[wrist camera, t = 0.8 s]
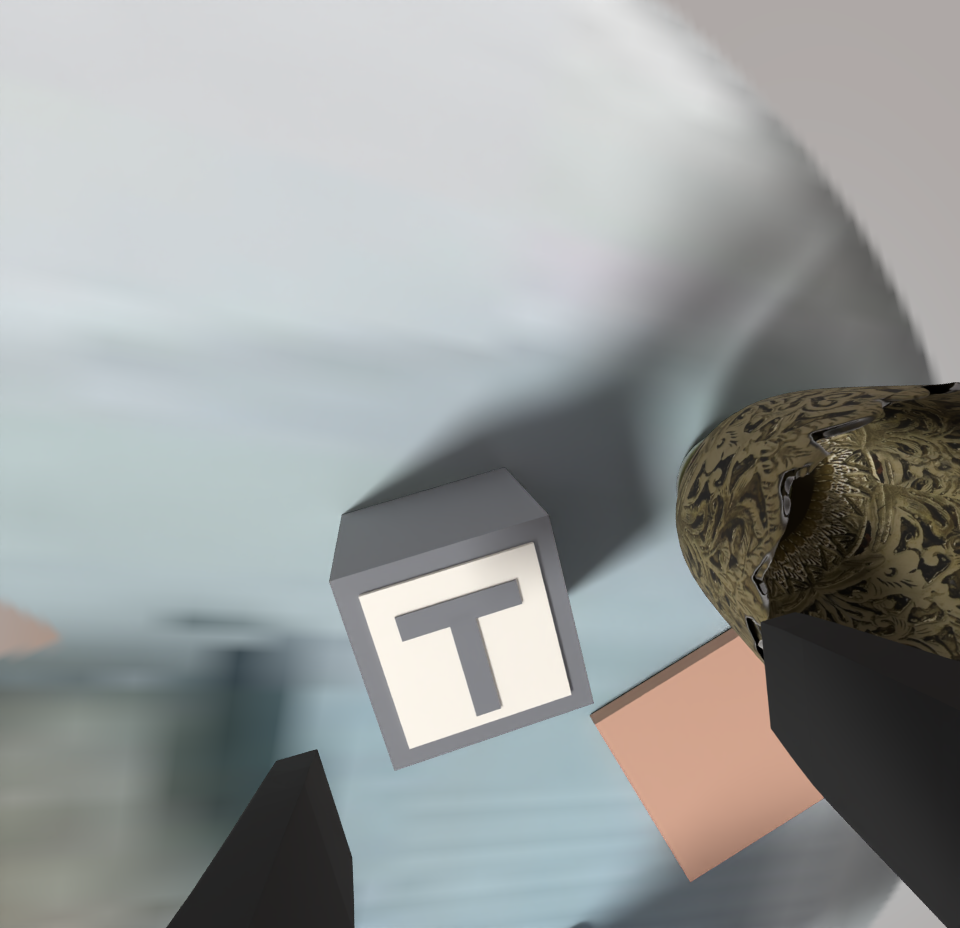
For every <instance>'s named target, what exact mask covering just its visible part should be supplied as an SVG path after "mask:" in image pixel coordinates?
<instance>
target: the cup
mask: <svg viewBox="0 0 960 928" xmlns="http://www.w3.org/2000/svg"><path fill="white" fill-rule="evenodd" d="M676 489H677V503H676V527H677V533H678V538H679V543H680V547H681V550H682V553H683V556H684V559H685V561H686V563H687V565H688V567H689V569H690V571H691V573H692V575H693V577H694V579H695V580H696V582H697V583H698V585H699V587H700V588H701V589H702V591H703V592H704V594H705V595H706V597H707V598H708V599H709V600H710V602H711V603H712V604H713V605H714V607H715V608H716V609H717V610H718V612H719V613H720V614H721V615H722V617H723V618H724V619H725V620H726V621H727V622H728V624H729V625H730V626H731V627H732V628H733V629H734V631H735V632H736V633H737V634H738V635H739V636H740V638H741V639H742V640H743V641H744V642H745V643H746V644H747V646H748V647H749V648H750V649H751V650H752V651H753V652H754V654H755V655H756V656H757V657H758V658H759V659H760V660H761V661H762V663H763V664H764V654H763V644H762V633H761V623H760V622H762V621H765V620H769V619H772V618H776V617H779V616H783V615H786V614H790V613H793V612H797V613H801V614H805V615H809V616H813V617H817V618H820V619H824V620H827V621H831V622H834V623H837V624H841V625H844V626H847V627H850V628H854V629H857V630H860V631H863V632H866V633H869V634H873V635H876V636H879V637H882V638H885V639H888V640H892V641H895V642H898V643H901V644H904V645H907V646H911V647H914V648H917V649H920V650H923V651H927V652H930V653H933V654H936V655H940V656H943V657H946V658H950V659H953V660H956V661H960V383H959V382H953V383H948V384H939V385H909V386H871V387H843V388H825V389H812V390H804V391H797V392H792V393H786V394H782V395H778V396H774V397H771V398H767V399H764V400H761V401H758V402H756V403H754V404H751V405H749V406H747V407H745V408H744V409H742V410H740V411H738V412H737V413H735V414H733V415H731V416H730V417H729V418H727V419H726V420H724V421H723V422H722V423H720V424H719V425H718V426H717V427H716V428H715V429H714V430H713V431H712V432H711V433H710V434H709V435H708V436H707V437H705V438H704V439H703V440H701V441H700V442H699V443H697V444H696V445H695V446H694V447H693V448H692V449H691V450H690V452H689V453H688V454H687V456H686V457H685V459H684V461H683V463H682V465H681V467H680V470H679V473H678V477H677V488H676ZM764 665H765V664H764Z"/></svg>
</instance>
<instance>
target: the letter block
mask: <svg viewBox="0 0 960 928" xmlns="http://www.w3.org/2000/svg"><path fill="white" fill-rule="evenodd" d="M329 583H330V585H331V588H332V591H333V594H334V597H335V600H336V603H337V606H338V609H339V611H340V614H341V617H342V620H343V623H344V626H345V629H346V632H347V635H348V637H349V640H350V643H351V646H352V649H353V652H354V655H355V658H356V661H357V663H358V666H359V669H360V672H361V675H362V678H363V681H364V684H365V687H366V689H367V692H368V695H369V698H370V701H371V704H372V707H373V710H374V713H375V715H376V718H377V721H378V724H379V727H380V730H381V733H382V736H383V739H384V741H385V744H386V747H387V750H388V753H389V756H390V759H391V762H392V765H393V767H394V770H398V769H401V768H404V767H407V766H410V765H413V764H416V763H419V762H422V761H425V760H428V759H431V758H434V757H437V756H440V755H443V754H446V753H449V752H452V751H454V750H457V749H460V748H463V747H466V746H469V745H472V744H475V743H478V742H481V741H484V740H487V739H490V738H493V737H496V736H499V735H502V734H505V733H508V732H511V731H513V730H516V729H519V728H522V727H525V726H528V725H531V724H534V723H537V722H540V721H543V720H546V719H549V718H552V717H555V716H558V715H561V714H564V713H567V712H570V711H573V710H575V709H578V708H581V707H584V706H587V705H590V704H593V703H594V702H593V697H592V693H591V689H590V685H589V681H588V676H587V672H586V668H585V664H584V660H583V656H582V651H581V647H580V643H579V639H578V635H577V630H576V626H575V622H574V618H573V614H572V610H571V605H570V601H569V597H568V593H567V589H566V585H565V580H564V576H563V572H562V568H561V564H560V559H559V555H558V551H557V547H556V543H555V539H554V534H553V530H552V526H551V522H550V518H549V514H548V513H547V512H546V511H545V510H544V509H543V508H542V507H541V506H540V505H539V504H538V503H537V502H536V501H535V499H534V498H533V497H532V496H531V495H530V494H529V493H528V492H527V491H526V490H525V489H524V488H523V487H522V485H521V484H520V483H519V482H518V481H517V480H516V479H515V478H514V477H513V476H512V475H511V474H510V473H509V471H508V470H507V469H506V468H505V467H503V468H500V469H496V470H493V471H490V472H486V473H483V474H479V475H476V476H473V477H469V478H466V479H462V480H459V481H456V482H452V483H449V484H445V485H442V486H439V487H435V488H432V489H428V490H425V491H421V492H418V493H415V494H411V495H408V496H404V497H401V498H398V499H394V500H391V501H387V502H384V503H381V504H377V505H374V506H370V507H367V508H363V509H360V510H357V511H353V512H350V513H346V514H343V515H342V517H341V522H340V527H339V532H338V538H337V543H336V548H335V553H334V559H333V564H332V569H331V574H330V580H329Z"/></svg>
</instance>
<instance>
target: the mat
mask: <svg viewBox="0 0 960 928" xmlns="http://www.w3.org/2000/svg"><path fill="white" fill-rule="evenodd" d="M590 716H591V718H592V720H593V722H594V724H595V725H596V727H597V729H598V730H599V732H600V734H601V735H602V737H603V739H604V740H605V742H606V744H607V745H608V747H609V749H610V750H611V752H612V754H613V755H614V757H615V758H616V760H617V762H618V763H619V765H620V767H621V768H622V770H623V772H624V773H625V775H626V777H627V778H628V780H629V782H630V783H631V785H632V787H633V788H634V790H635V792H636V793H637V795H638V796H639V798H640V800H641V801H642V803H643V805H644V806H645V808H646V810H647V811H648V813H649V815H650V816H651V818H652V820H653V821H654V823H655V825H656V826H657V828H658V830H659V831H660V833H661V835H662V836H663V838H664V839H665V841H666V843H667V844H668V846H669V848H670V849H671V851H672V853H673V854H674V856H675V858H676V859H677V861H678V863H679V864H680V866H681V868H682V869H683V871H684V873H685V874H686V876H687V877H688V879H689V881H690V882H692V881H693V880H695V879H696V878H698V877H700V876H701V875H703V874H704V873H706V872H708V871H709V870H711V869H712V868H714V867H716V866H717V865H719V864H720V863H722V862H723V861H725V860H727V859H728V858H730V857H731V856H733V855H735V854H736V853H738V852H739V851H741V850H743V849H744V848H746V847H747V846H749V845H750V844H752V843H754V842H755V841H757V840H758V839H760V838H762V837H763V836H765V835H766V834H768V833H770V832H771V831H773V830H774V829H776V828H777V827H779V826H781V825H782V824H784V823H785V822H787V821H789V820H790V819H792V818H793V817H795V816H797V815H798V814H800V813H801V812H803V811H804V810H806V809H808V808H809V807H811V806H812V805H814V804H816V803H817V802H819V801H820V800H822V799H824V797H823V796H822V795H821V794H820V793H819V791H818V790H817V789H816V788H815V787H814V786H813V785H812V783H811V782H810V781H809V780H808V778H807V777H806V776H805V774H804V773H803V772H802V770H801V769H800V768H799V767H798V765H797V764H796V763H795V761H794V760H793V759H792V757H791V756H790V755H789V753H788V752H787V750H786V749H785V748H784V746H783V745H782V743H781V742H780V741H779V739H778V738H777V737H776V735H775V734H774V732H773V731H772V730H771V727H770V716H769V706H768V696H767V685H766V675H765V665H764V664H763V663H762V661H761V660H760V659H759V658H758V657H757V656H756V655H755V654H754V652H753V651H752V650H751V649H750V648H749V647H748V646H747V644H746V643H745V642H744V641H743V640H742V639H741V638H740V636H739V635H738V634H737V633H736V632H735V631H734V629H733V628H731V629H730V630H728V631H726V632H725V633H723V634H722V635H720V636H718V637H717V638H715V639H713V640H712V641H710V642H709V643H707V644H705V645H704V646H702V647H700V648H699V649H697V650H696V651H694V652H692V653H691V654H689V655H687V656H686V657H684V658H683V659H681V660H679V661H678V662H676V663H674V664H673V665H671V666H670V667H668V668H666V669H665V670H663V671H661V672H660V673H658V674H657V675H655V676H653V677H652V678H650V679H648V680H647V681H645V682H644V683H642V684H640V685H639V686H637V687H635V688H634V689H632V690H631V691H629V692H627V693H626V694H624V695H622V696H621V697H619V698H618V699H616V700H614V701H613V702H611V703H609V704H608V705H606V706H604V707H603V708H601V709H600V710H598V711H596V712H595V713H593V714H591V715H590Z"/></svg>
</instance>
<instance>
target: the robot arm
mask: <svg viewBox="0 0 960 928" xmlns="http://www.w3.org/2000/svg"><path fill="white" fill-rule="evenodd" d="M760 623H761V633H762V644H763V654H764V664H765V675H766V685H767V696H768V706H769V716H770V727H771V730H772V731H773V732H774V734H775V735H776V737H777V738H778V739H779V741H780V742H781V743H782V745H783V746H784V748H785V749H786V750H787V752H788V753H789V755H790V756H791V757H792V759H793V760H794V761H795V763H796V764H797V765H798V767H799V768H800V769H801V770H802V772H803V773H804V774H805V776H806V777H807V778H808V780H809V781H810V782H811V783H812V785H813V786H814V787H815V788H816V789H817V790H818V791H819V793H820V794H821V795H822V796H823V797H824V798H825V799H826V800H827V801H828V802H829V803H830V804H831V806H832V807H833V808H834V809H835V810H836V811H837V812H838V813H839V814H840V815H841V816H842V817H843V818H844V819H845V821H846V822H847V823H848V824H849V825H850V826H851V827H852V828H853V829H854V830H855V831H856V832H857V833H858V834H859V835H860V836H861V838H862V839H863V840H864V841H865V842H866V843H867V844H868V845H869V846H870V847H871V848H872V849H873V850H874V851H875V852H876V853H877V854H878V855H879V856H880V858H881V859H882V860H883V861H884V862H885V863H886V864H887V865H888V866H889V867H890V868H891V869H892V870H893V871H894V872H895V873H896V874H897V875H898V876H899V877H900V879H901V880H902V881H903V882H904V883H905V884H906V885H907V886H908V887H909V888H910V889H911V890H912V891H913V892H914V893H915V894H916V895H917V896H918V897H919V899H920V900H922V902H923V903H924V904H925V905H926V906H927V907H928V908H929V909H930V910H931V911H932V912H933V913H934V914H935V915H936V916H937V917H938V919H939V920H940V921H941V922H942V923H943V924H944V925H945V926H946V927H947V928H960V661H956V660H953V659H950V658H946V657H943V656H940V655H936V654H933V653H930V652H927V651H923V650H920V649H917V648H914V647H911V646H907V645H904V644H901V643H898V642H895V641H892V640H888V639H885V638H882V637H879V636H876V635H873V634H869V633H866V632H863V631H860V630H857V629H854V628H850V627H847V626H844V625H841V624H837V623H834V622H831V621H827V620H824V619H820V618H817V617H813V616H809V615H805V614H801V613H797V612H793V613H790V614H786V615H783V616H779V617H776V618H772V619H769V620H765V621H762V622H760ZM166 928H354V891H353V865H352V856H351V852H350V849H349V846H348V843H347V840H346V837H345V834H344V831H343V828H342V824H341V821H340V818H339V815H338V812H337V809H336V806H335V803H334V800H333V797H332V793H331V790H330V787H329V784H328V781H327V778H326V775H325V772H324V769H323V765H322V762H321V759H320V756H319V753H318V750H317V749H316V750H313V751H309V752H306V753H302V754H299V755H295V756H292V757H288V758H285V759H281V760H278V761H276V762H275V764H274V765H273V767H272V768H271V770H270V771H269V773H268V774H267V776H266V777H265V779H264V781H263V782H262V784H261V785H260V787H259V788H258V790H257V791H256V793H255V795H254V796H253V798H252V799H251V801H250V803H249V804H248V806H247V807H246V809H245V810H244V812H243V814H242V815H241V817H240V818H239V820H238V822H237V823H236V825H235V826H234V828H233V829H232V831H231V833H230V834H229V836H228V837H227V839H226V840H225V842H224V844H223V845H222V847H221V848H220V850H219V851H218V853H217V854H216V856H215V857H214V859H213V860H212V862H211V863H210V865H209V866H208V868H207V869H206V871H205V872H204V874H203V875H202V877H201V878H200V880H199V881H198V883H197V885H196V886H195V888H194V889H193V891H192V892H191V894H190V895H189V897H188V898H187V899H186V901H185V902H184V904H183V905H182V906H181V908H180V909H179V911H178V912H177V913H176V915H175V916H174V918H173V919H172V920H171V922H170V923H169V925H168V926H167V927H166Z"/></svg>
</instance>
